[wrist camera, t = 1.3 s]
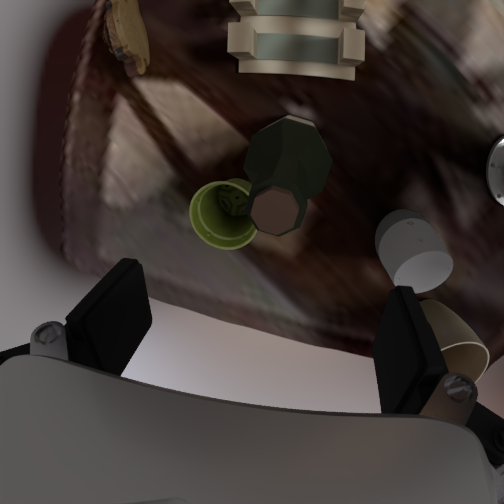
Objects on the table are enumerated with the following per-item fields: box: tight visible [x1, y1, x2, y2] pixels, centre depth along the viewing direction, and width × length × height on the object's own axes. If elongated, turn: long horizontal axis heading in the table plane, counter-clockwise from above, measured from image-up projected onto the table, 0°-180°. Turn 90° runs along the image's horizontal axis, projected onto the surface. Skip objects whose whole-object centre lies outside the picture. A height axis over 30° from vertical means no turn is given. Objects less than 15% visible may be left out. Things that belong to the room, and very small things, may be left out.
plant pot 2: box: [419, 299, 489, 383], centre depth 45 cm, size 15×15×16 cm
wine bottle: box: [243, 114, 333, 236], centre depth 29 cm, size 8×8×30 cm
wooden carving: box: [103, 0, 150, 77], centre depth 33 cm, size 16×5×10 cm, turn 18°
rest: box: [227, 0, 365, 81], centre depth 30 cm, size 16×20×8 cm
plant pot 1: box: [189, 178, 258, 250], centre depth 44 cm, size 9×9×9 cm
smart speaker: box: [375, 209, 453, 293], centre depth 39 cm, size 10×9×14 cm
